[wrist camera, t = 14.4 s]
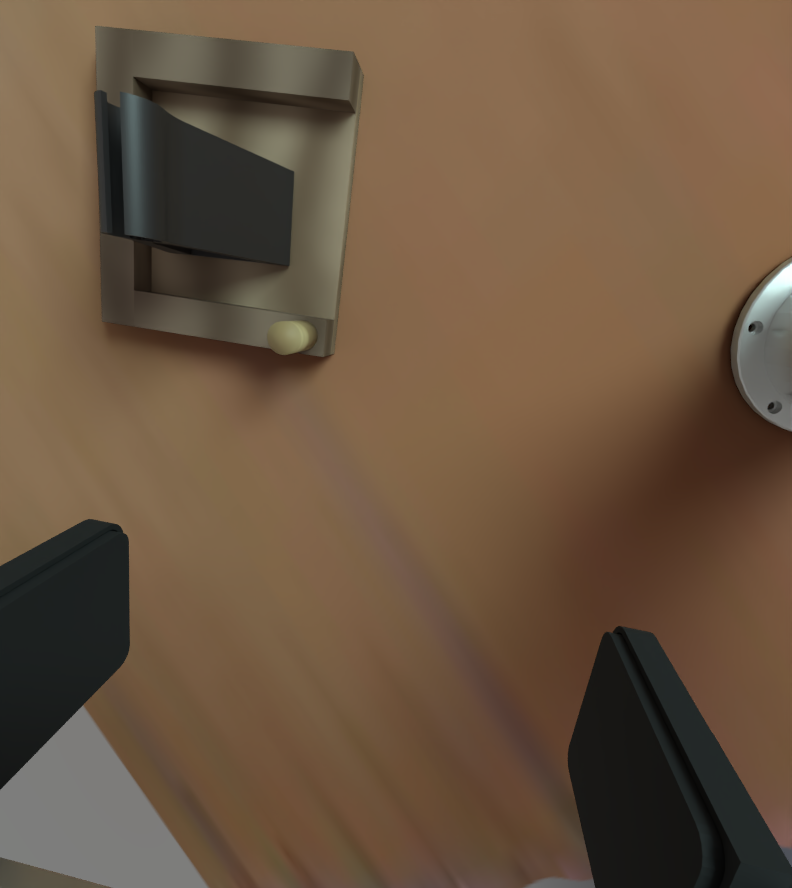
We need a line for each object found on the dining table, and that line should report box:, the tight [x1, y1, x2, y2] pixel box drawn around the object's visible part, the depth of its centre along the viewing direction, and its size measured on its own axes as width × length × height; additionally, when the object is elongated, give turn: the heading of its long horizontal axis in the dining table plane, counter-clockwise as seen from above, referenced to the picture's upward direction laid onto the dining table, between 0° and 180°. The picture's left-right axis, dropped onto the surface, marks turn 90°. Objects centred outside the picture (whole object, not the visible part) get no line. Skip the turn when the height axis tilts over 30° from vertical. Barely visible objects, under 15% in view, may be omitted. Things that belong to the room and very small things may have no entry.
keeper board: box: [95, 26, 364, 357], centre depth 32 cm, size 18×18×7 cm
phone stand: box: [94, 90, 294, 266], centre depth 28 cm, size 9×6×12 cm, turn 83°
